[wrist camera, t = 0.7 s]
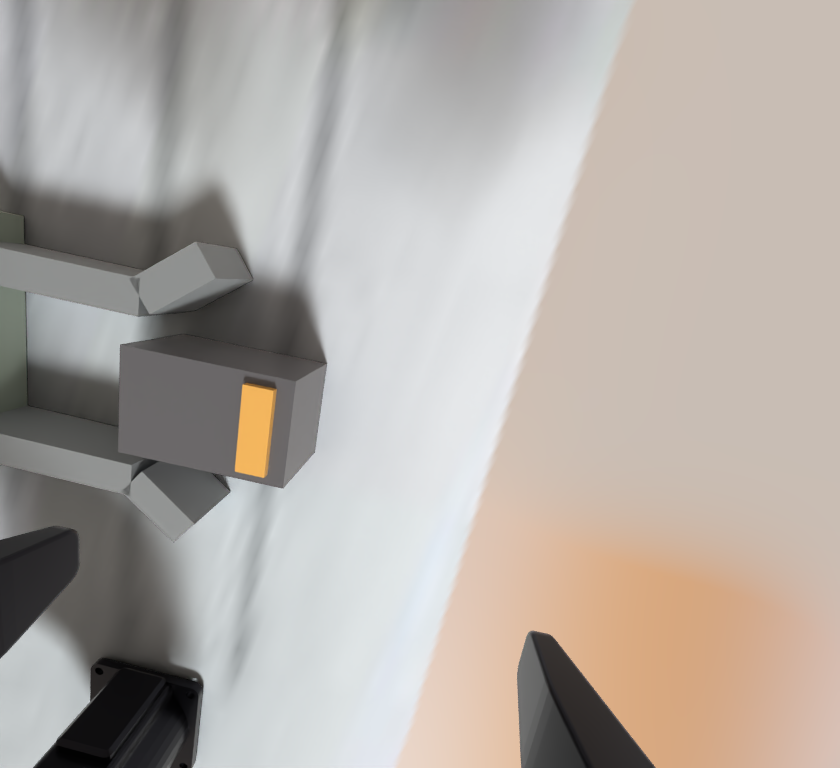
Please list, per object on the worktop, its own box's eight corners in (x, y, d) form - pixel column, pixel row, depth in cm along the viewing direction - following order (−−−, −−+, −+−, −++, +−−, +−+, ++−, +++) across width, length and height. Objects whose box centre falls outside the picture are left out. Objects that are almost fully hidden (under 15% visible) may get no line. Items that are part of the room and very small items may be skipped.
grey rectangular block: (315, 451, 21) (279, 491, 17) (180, 421, 21) (112, 454, 17) (328, 362, 20) (293, 382, 16) (185, 333, 20) (113, 345, 16)
